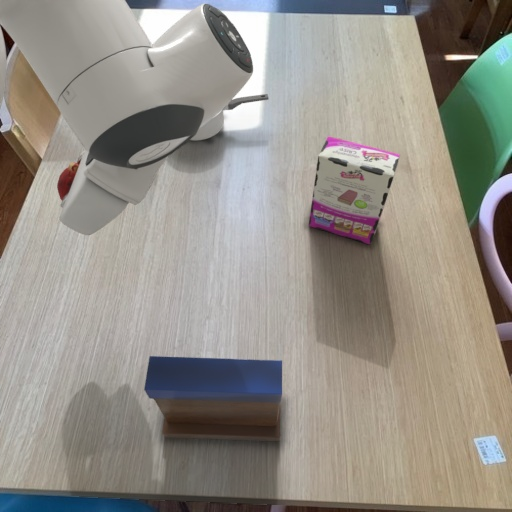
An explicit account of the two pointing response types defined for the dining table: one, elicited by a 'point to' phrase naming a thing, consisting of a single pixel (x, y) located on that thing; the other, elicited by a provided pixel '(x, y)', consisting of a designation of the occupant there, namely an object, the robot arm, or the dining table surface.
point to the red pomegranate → (66, 179)
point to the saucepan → (218, 120)
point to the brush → (217, 397)
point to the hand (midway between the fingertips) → (75, 184)
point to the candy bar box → (351, 188)
